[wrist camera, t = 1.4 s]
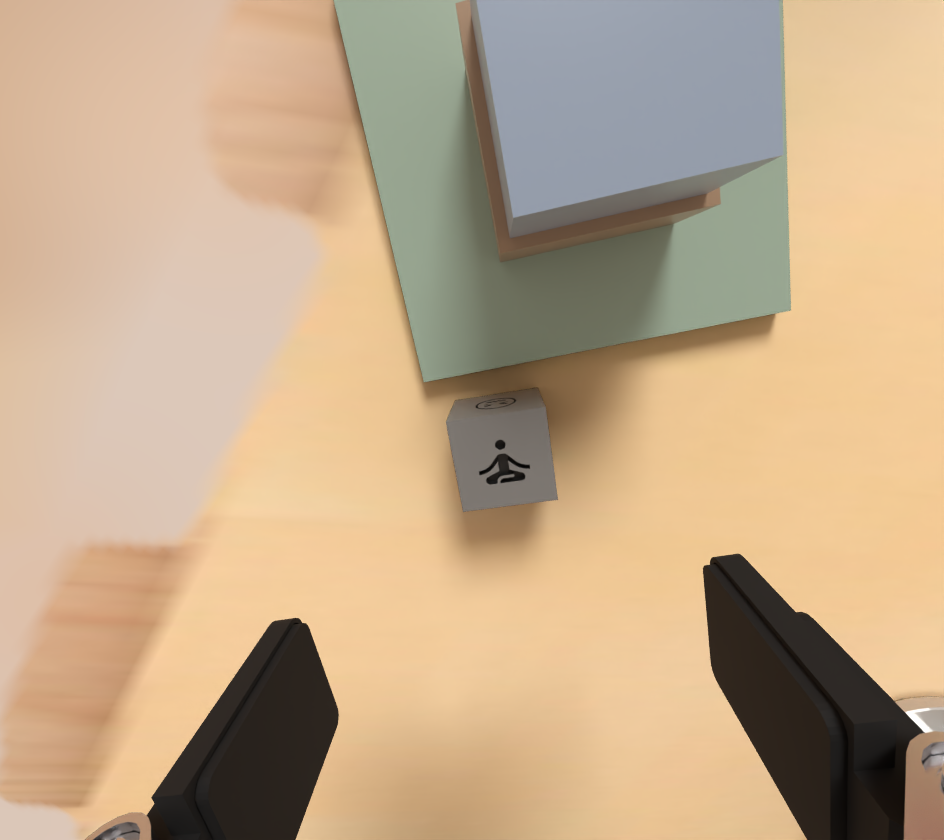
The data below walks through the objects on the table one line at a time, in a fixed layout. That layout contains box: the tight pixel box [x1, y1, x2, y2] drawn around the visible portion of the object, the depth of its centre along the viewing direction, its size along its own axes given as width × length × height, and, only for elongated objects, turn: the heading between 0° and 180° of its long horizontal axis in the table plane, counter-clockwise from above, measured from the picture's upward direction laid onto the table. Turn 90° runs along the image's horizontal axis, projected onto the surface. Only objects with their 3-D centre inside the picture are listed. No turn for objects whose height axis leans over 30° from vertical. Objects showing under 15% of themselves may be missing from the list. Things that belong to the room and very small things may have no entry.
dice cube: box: [446, 388, 558, 512], centre depth 25 cm, size 5×5×5 cm
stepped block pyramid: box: [334, 0, 791, 382], centre depth 18 cm, size 20×20×11 cm
